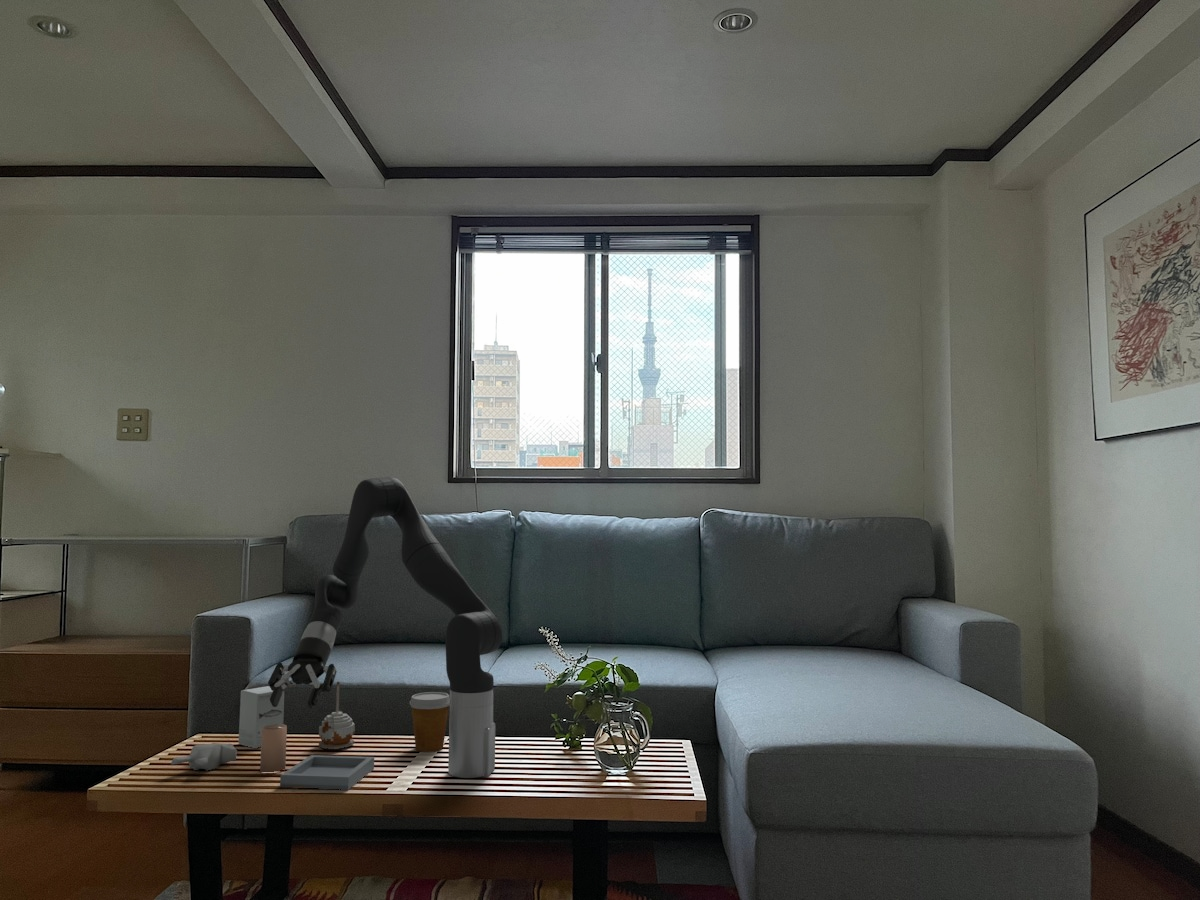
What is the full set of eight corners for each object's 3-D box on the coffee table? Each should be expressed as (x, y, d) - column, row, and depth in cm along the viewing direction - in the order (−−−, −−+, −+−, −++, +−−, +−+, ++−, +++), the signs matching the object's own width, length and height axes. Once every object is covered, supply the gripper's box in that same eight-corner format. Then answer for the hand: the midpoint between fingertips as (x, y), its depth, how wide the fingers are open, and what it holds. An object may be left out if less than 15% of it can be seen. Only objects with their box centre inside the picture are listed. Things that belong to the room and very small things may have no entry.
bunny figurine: (248, 740, 186) (209, 750, 172) (245, 764, 185) (206, 777, 171) (208, 739, 187) (166, 749, 173) (205, 763, 186) (163, 775, 172)
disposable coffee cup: (453, 751, 192) (454, 698, 193) (412, 755, 188) (413, 701, 189) (445, 741, 201) (446, 690, 202) (405, 745, 197) (406, 693, 198)
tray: (373, 769, 178) (374, 757, 178) (348, 790, 164) (348, 777, 165) (310, 767, 180) (311, 755, 180) (280, 787, 166) (280, 774, 166)
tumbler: (289, 767, 179) (291, 724, 180) (278, 774, 174) (280, 730, 175) (267, 766, 180) (268, 723, 181) (255, 773, 175) (257, 729, 176)
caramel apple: (317, 744, 198) (319, 679, 199) (351, 741, 201) (352, 677, 202) (320, 752, 191) (322, 685, 192) (355, 749, 194) (357, 683, 195)
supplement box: (254, 749, 193) (256, 693, 194) (237, 744, 198) (239, 689, 199) (283, 742, 199) (285, 688, 200) (266, 737, 203) (268, 685, 204)
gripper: (282, 635, 197) (255, 695, 184) (340, 636, 195) (317, 696, 183) (291, 654, 201) (266, 714, 189) (348, 655, 200) (327, 715, 188)
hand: (291, 705), depth 186 cm, fingers open, 8 cm apart
